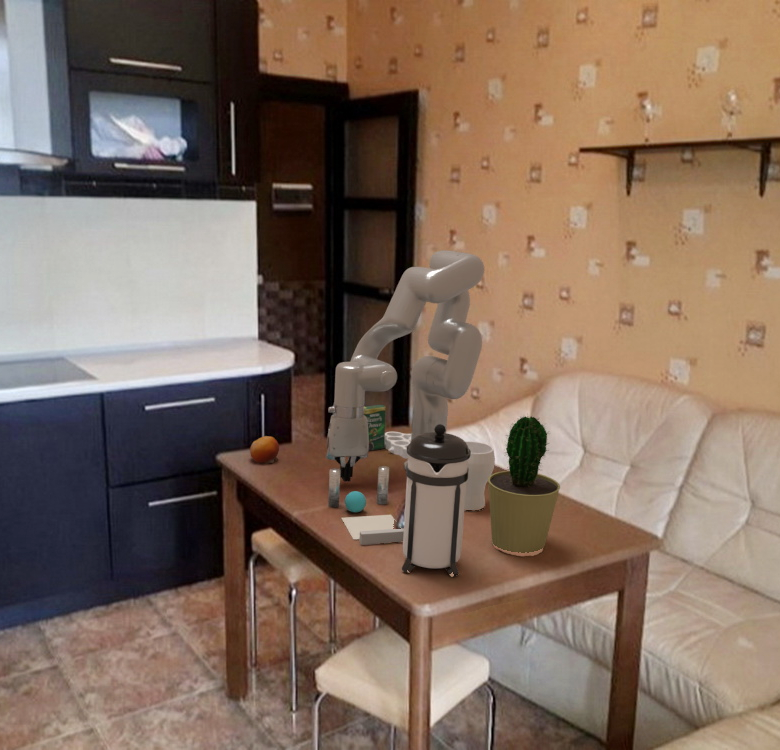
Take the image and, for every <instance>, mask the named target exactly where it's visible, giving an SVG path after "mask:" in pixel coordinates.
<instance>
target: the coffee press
mask: <svg viewBox="0 0 780 750" xmlns="http://www.w3.org/2000/svg"><path fill="white" fill-rule="evenodd" d="M434 430H435V432H431V433H424V434H420V435H418V436H416V437H414V438H413V439H412V440H411V442H410V444H409V445H408V446H407V454H408V459H407V460H408V463H407V466H406V470H405V474H406V489H405V503H404V523H403V528H404V537H403V542H402V554H403V556H404V558H405V560H404V563H403V565H402V566H401V570H402V572H404V573H406V574H407V570H408V571H409V572H410V573H411V572H412V571H413V570H414V568H415V567H416V566H418V567H420V568H421V567H422V568H427V569H445V570H446V572H447V574H448V575H449V574H451V573H452V572H453V574H454V576H455V577H457V576H456V575H458V574H459V572H460V571H459V569H458V567H457V562H459V560H460V559H461V557H462V556H461V555H462V548H463V547H462V545H463V535H464V534H463V532H464V521H465V510H464V509H465V496H466V483H467V480H468V472H469V469H468V459H469V458H470V456H471V451H470V449H469V448H468V445H467V443H466V442H467V441H466V440H464V439H463V438H461V437H459V436H458V435H455V434H451V433H447V429H445V426H444V425H442V424H438V425H437V426H436V427H435V429H434ZM445 431H446V433H445ZM458 576H459V575H458Z"/></svg>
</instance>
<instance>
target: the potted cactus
mask: <svg viewBox="0 0 780 750" xmlns="http://www.w3.org/2000/svg"><path fill="white" fill-rule="evenodd" d="M527 415H529V414H528V413H527ZM539 420H540V417H539V416H536V417H534V416H525V415H524V416H521V417H520V418H517V421H515V420H514V421H513V424H512V425H509V429H510V430H509V432H508V434H505V435H504V436H505V437H507V442H506V441H505V442H506V443H505V445H504V446H506V448H504V449H503V451H502V453H504V451H505V455H506V458H507V457H508V466H507V467H506V468H507V470H502V471H498V472H495V473H492V474H491V476H489V478H488V481H487V483H488V484H487V485H488V496H489V497H488V500H489V513H490V514H489V515H490V531H491V532H490V533H491V542H493V544H494V545H495V546H497V547H498V548H501V549H503V550H507V551H511V552H518V553H519V552H521V553H525V552H527V553H529V552H534V551H538V550H540V549H542V548H543V547H544V546H546V542H547V538H548V534H549V531H550V526H551V522H552V518H553V516H554V511H555V507H556V503H557V500H558V497H559V491H560V489H561V485H560V483H559V482H558V481H557V480H555V479H554V478H552V477H550V476H547V475H544V474H540V473H539V471H542V469H540V468H542V467H543V465H542V464H543V463H542V462H541V461H542V459H543V460H545V457H546V452H547V451H550V449H547V445H549V442H548V435H550V434H551V432H550V433H549V432H547V430H546V427H545V425H546V423H543V424H541V422H540V421H539ZM493 544H492V545H493ZM544 548H545V547H544Z"/></svg>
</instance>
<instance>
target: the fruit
mask: <svg viewBox="0 0 780 750" xmlns="http://www.w3.org/2000/svg"><path fill="white" fill-rule="evenodd" d="M249 451H250V457H251V459H253V460H254V461H255V462H256V463H258V464H262V463H263V464H267V463H268V464H269V463H272V464H274V462H275V460H278V458H277V456H278V454H279V451H280V445H279V443H278V441H277V439H275V437H273V436H267V435H265V436H262V437H259V438H258V439H255V440H254V441H253V442H252V443H251V445H250V449H249Z"/></svg>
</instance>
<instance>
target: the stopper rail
mask: <svg viewBox="0 0 780 750" xmlns="http://www.w3.org/2000/svg"><path fill="white" fill-rule="evenodd" d="M400 528H401V529H387V530H372V531H360V539H359V542H358V543H359V545H361V546H369V545H380V543H384V544H390V543H389V542H398V543H402V542H401V541H403V537H404V527H400Z"/></svg>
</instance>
